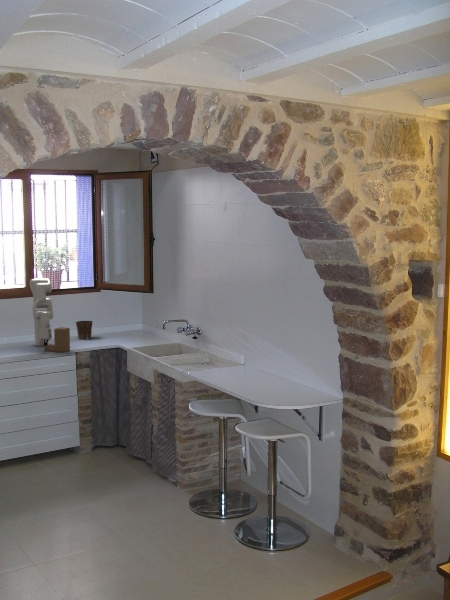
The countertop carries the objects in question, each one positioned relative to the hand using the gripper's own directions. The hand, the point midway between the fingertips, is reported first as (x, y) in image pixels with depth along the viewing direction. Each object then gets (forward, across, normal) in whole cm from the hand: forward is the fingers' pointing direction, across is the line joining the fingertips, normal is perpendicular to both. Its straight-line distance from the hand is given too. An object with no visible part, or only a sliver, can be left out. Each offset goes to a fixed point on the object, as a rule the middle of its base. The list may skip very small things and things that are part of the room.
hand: (45, 346), depth 584 cm
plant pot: (+3, +1, -62) cm, 62 cm away
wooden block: (+3, -17, 0) cm, 17 cm away
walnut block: (+3, -7, 0) cm, 8 cm away
